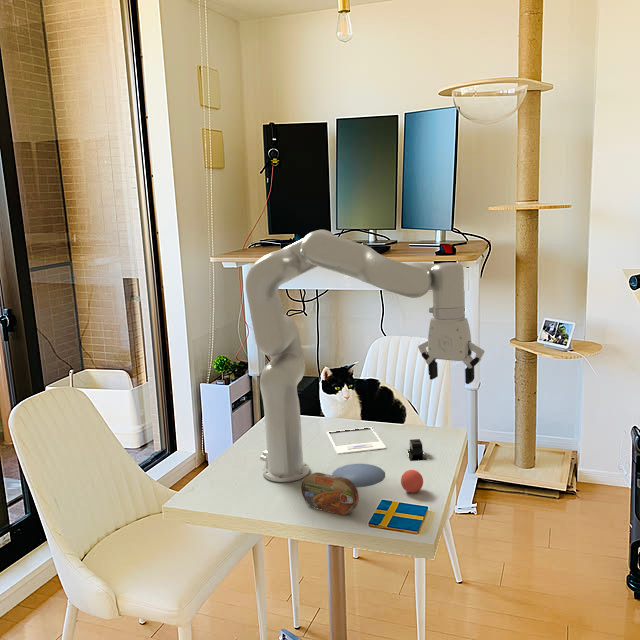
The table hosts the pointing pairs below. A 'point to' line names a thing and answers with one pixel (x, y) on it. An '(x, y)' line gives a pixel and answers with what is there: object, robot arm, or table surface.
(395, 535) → the table surface
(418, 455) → the black block
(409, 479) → the ball
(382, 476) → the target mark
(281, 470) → the robot arm
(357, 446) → the photo frame
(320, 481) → the tin
